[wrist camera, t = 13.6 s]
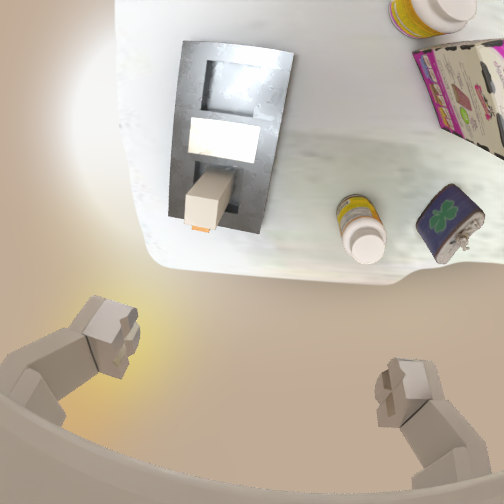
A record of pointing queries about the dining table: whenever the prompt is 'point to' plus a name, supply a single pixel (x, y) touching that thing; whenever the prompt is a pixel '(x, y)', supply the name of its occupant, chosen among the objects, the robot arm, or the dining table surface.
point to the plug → (209, 199)
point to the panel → (228, 124)
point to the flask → (449, 222)
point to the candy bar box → (468, 89)
